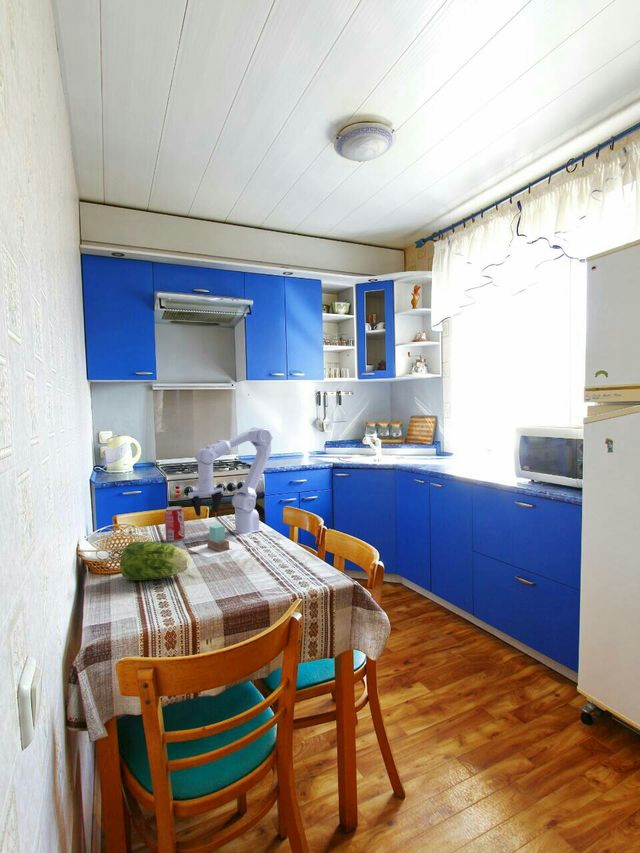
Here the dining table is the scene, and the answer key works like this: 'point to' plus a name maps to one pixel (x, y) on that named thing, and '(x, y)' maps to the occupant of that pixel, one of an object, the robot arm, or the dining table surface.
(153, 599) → the dining table surface
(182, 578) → the dining table surface
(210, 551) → the plate
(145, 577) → the lettuce
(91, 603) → the dining table surface
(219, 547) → the base brick
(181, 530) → the soda can
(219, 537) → the teal block
